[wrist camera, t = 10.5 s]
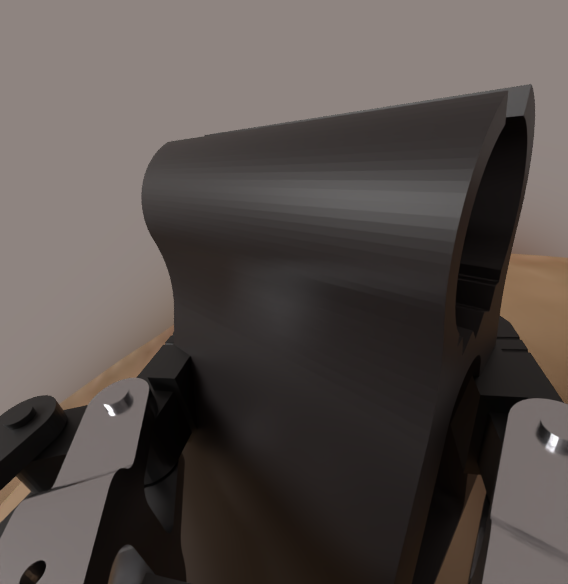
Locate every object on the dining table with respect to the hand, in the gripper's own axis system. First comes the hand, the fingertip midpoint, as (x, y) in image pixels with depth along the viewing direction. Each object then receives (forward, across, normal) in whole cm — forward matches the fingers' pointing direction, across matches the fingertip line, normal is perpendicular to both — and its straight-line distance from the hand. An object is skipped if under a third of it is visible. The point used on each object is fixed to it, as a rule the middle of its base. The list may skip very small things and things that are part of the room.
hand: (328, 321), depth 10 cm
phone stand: (-2, 0, +7) cm, 7 cm away
